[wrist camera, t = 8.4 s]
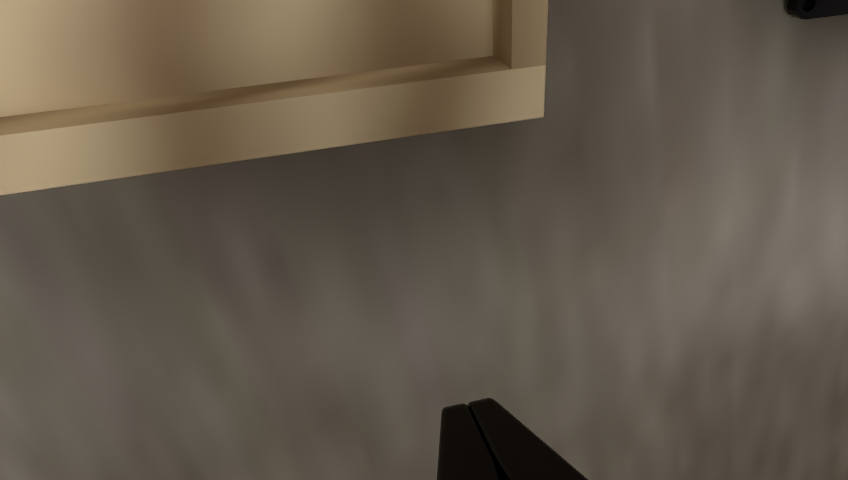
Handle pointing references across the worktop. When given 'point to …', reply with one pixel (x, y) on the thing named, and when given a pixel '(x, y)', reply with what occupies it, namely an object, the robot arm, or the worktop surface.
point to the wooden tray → (250, 79)
